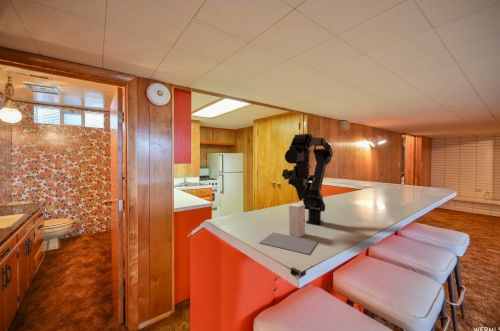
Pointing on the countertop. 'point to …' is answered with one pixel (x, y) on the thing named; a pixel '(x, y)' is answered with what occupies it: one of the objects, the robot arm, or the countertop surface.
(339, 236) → the countertop surface
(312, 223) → the robot arm
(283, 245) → the mat
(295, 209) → the skincare box
